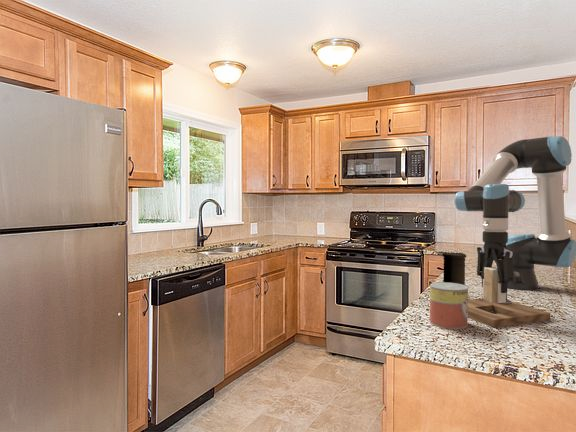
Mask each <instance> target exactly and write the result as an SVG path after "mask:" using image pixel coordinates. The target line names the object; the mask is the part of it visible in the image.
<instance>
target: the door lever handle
mask: <svg viewBox="0 0 576 432" xmlns="http://www.w3.org/2000/svg"><path fill="white" fill-rule="evenodd" d="M513 276H516V277H519V276H520V273H519V272H515V271H513ZM511 301H512V300H509V299H508V292H507V293H506V302H505V303H499V304H511Z"/></svg>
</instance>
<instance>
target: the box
mask: <svg viewBox="0 0 576 432" xmlns="http://www.w3.org/2000/svg"><path fill="white" fill-rule="evenodd" d="M498 282H500V279H499V275H498V270H497V266H495V267H494V266H492V267H484V300H486V301H488V302H491V303H497V297H498Z"/></svg>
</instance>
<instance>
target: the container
mask: <svg viewBox="0 0 576 432" xmlns="http://www.w3.org/2000/svg"><path fill="white" fill-rule="evenodd" d="M442 257H443V279H442V282H449V283H458V284H463V285H466V282H465V281H466V277H465V276H466V258H467V254H466V253H463V252H443V253H442Z"/></svg>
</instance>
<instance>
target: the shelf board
mask: <svg viewBox="0 0 576 432" xmlns="http://www.w3.org/2000/svg"><path fill="white" fill-rule="evenodd" d="M510 301H511V304H499V303H491V302H488V301H486V300H484V298H483V297H482V298H473V299H468V319H471V320H473V321H475V322H478V323H480V324H483V325H485V326H489V327H491V328H492V329H493V328H500V327H508V326H517V325H523V324H532V323H540V322H548V321H551V312H549V311H545V310H541V309H538V308H535V307H532V306H528V305H525V304H522V303H519V302H515V301H512V300H510Z"/></svg>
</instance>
